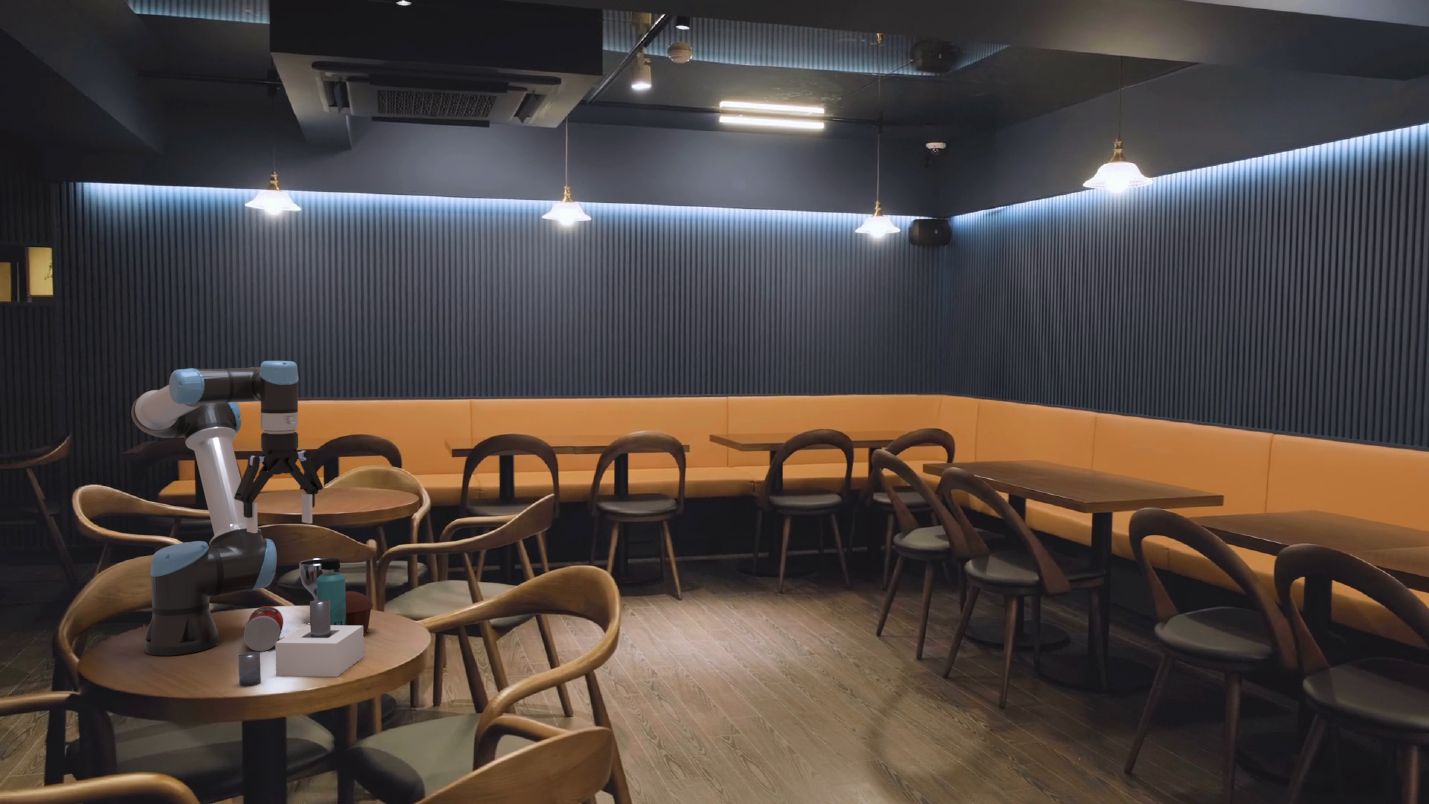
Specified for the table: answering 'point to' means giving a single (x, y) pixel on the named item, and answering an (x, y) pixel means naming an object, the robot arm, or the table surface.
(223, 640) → the table surface
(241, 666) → the short peg
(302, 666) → the hole block
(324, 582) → the beverage bottle
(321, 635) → the long peg
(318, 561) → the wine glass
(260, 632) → the canned food
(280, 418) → the robot arm
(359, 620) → the muffin
